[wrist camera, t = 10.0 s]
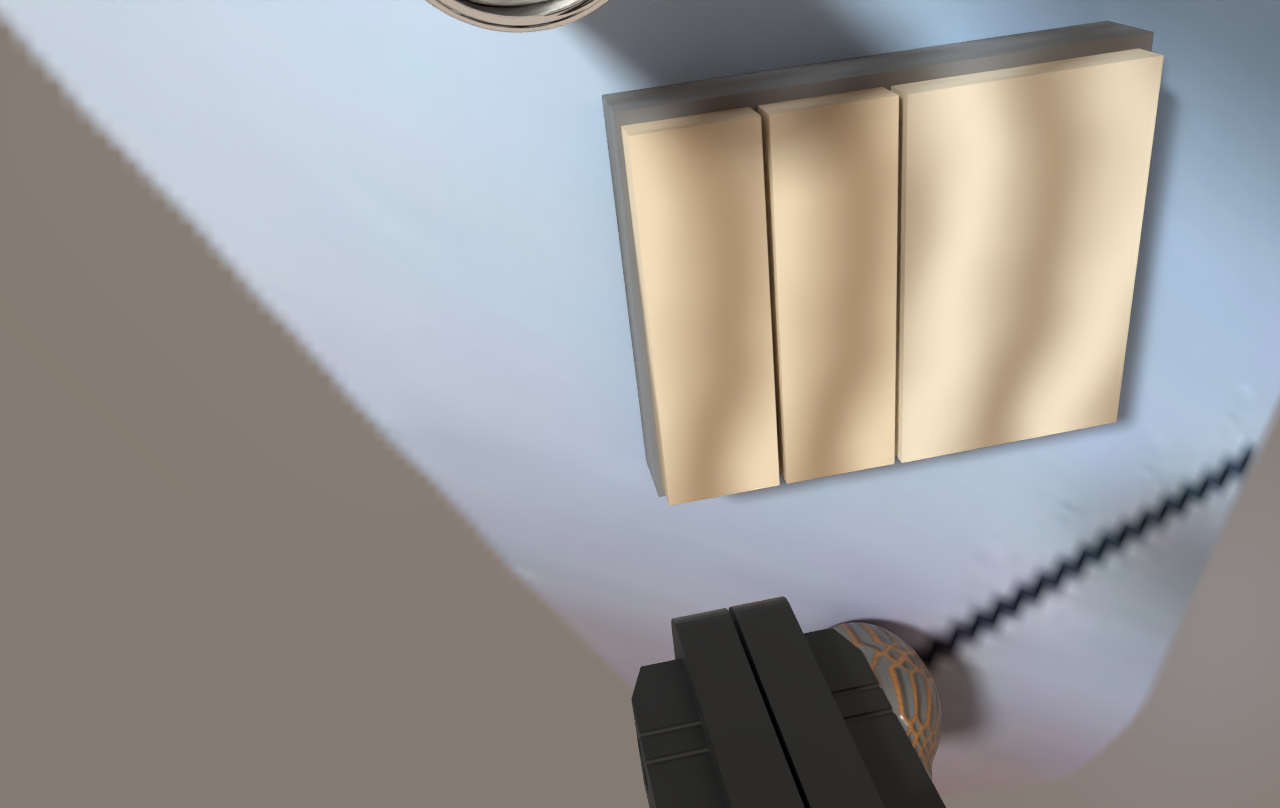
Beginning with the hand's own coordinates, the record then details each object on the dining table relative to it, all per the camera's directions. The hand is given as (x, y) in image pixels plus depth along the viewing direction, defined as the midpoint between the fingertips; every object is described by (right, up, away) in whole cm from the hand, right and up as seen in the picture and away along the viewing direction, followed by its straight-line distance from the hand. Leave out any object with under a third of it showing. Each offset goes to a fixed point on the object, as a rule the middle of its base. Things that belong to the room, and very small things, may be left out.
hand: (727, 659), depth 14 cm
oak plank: (+13, +9, +28) cm, 32 cm away
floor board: (+8, +10, +30) cm, 32 cm away
